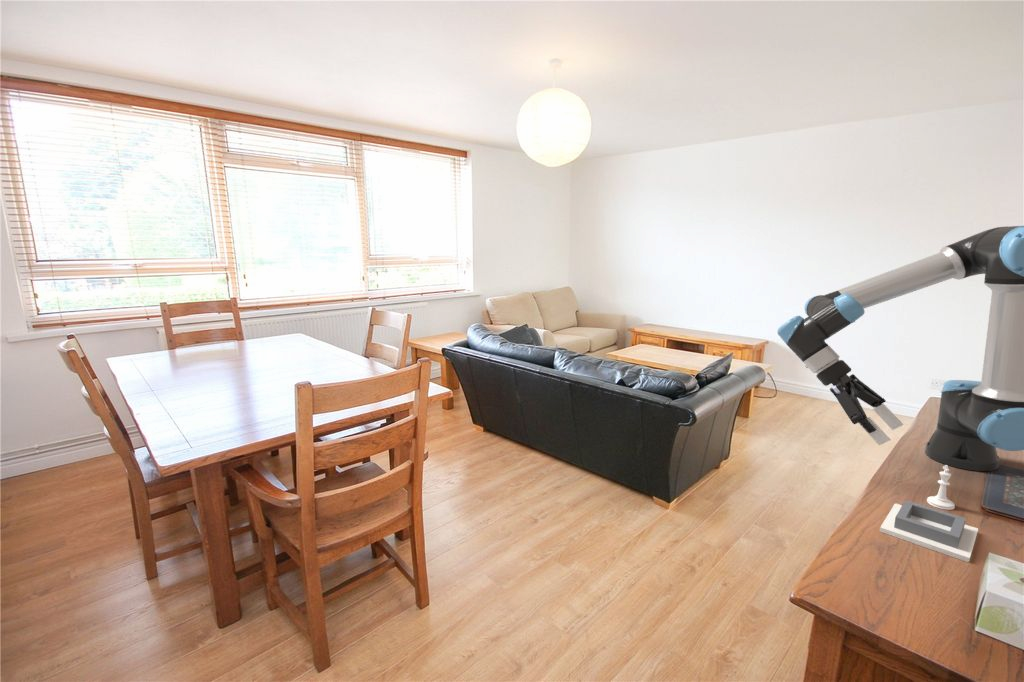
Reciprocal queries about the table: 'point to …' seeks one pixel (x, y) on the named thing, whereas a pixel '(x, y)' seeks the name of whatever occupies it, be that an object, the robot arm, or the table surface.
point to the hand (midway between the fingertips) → (891, 434)
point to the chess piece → (942, 492)
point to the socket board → (931, 529)
